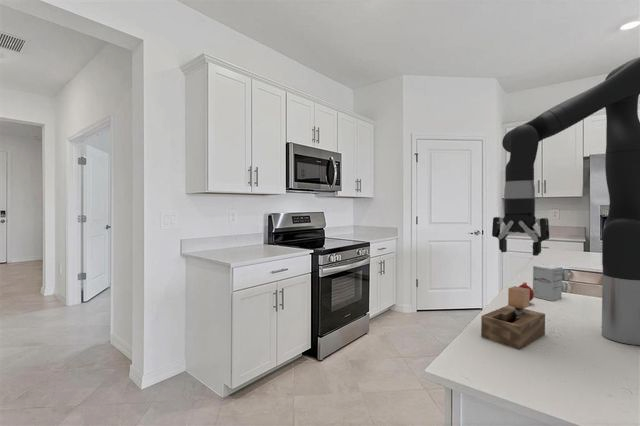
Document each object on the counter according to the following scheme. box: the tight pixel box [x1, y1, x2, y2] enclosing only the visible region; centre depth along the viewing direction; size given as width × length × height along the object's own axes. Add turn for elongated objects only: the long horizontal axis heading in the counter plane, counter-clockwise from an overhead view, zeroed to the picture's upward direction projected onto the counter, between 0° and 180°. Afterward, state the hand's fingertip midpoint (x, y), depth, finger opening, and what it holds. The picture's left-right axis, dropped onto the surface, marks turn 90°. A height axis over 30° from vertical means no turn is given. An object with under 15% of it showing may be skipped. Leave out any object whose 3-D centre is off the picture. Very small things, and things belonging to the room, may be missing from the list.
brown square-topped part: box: [507, 286, 531, 321], centre depth 95 cm, size 4×4×13 cm
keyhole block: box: [480, 304, 546, 350], centre depth 93 cm, size 10×16×6 cm, turn 126°
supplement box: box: [532, 263, 563, 302], centre depth 129 cm, size 7×7×13 cm
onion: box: [518, 281, 535, 302], centre depth 122 cm, size 6×6×8 cm
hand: (519, 253), depth 94 cm, fingers open, 8 cm apart
